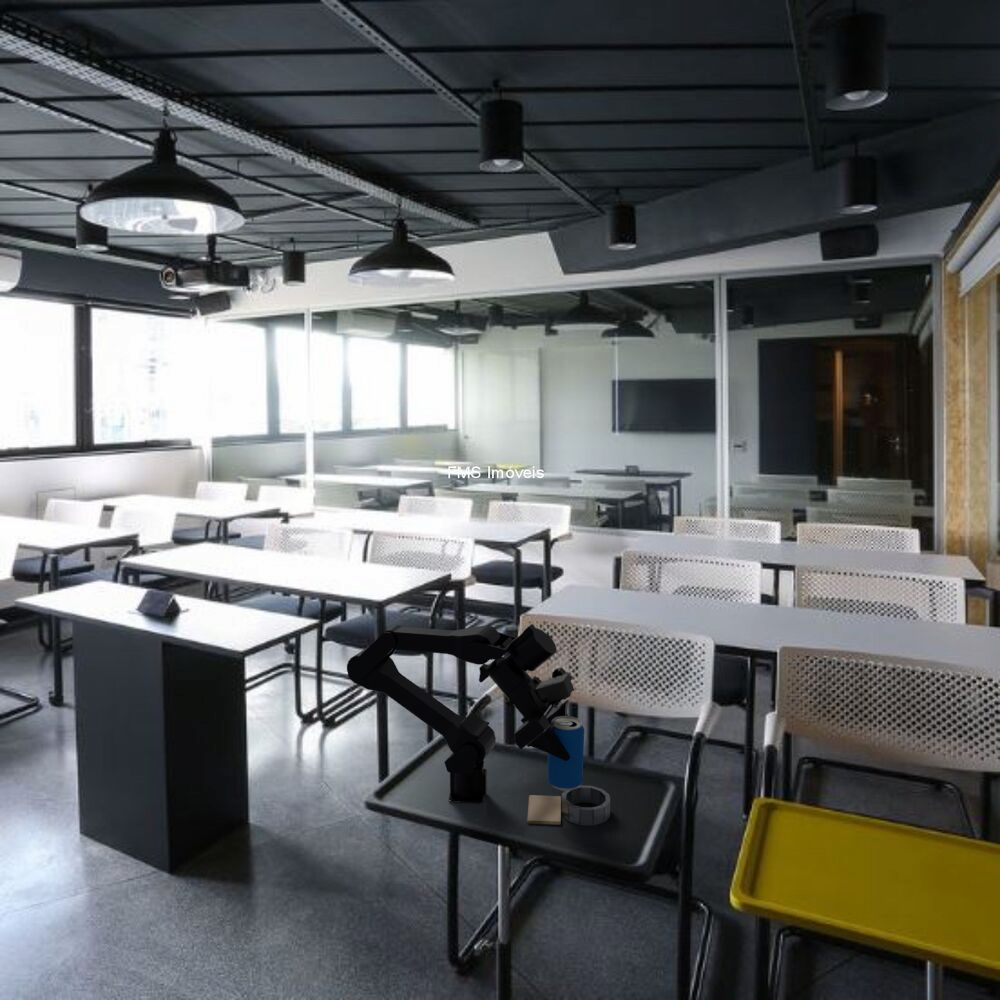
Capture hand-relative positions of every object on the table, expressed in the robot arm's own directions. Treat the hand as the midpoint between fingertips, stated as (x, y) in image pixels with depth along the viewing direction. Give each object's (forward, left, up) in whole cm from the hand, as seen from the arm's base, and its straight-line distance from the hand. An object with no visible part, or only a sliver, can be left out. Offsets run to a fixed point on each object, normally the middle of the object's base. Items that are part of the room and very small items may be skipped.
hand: (573, 751), depth 150 cm
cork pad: (-5, 0, -12) cm, 13 cm away
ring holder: (+2, 0, -12) cm, 12 cm away
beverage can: (-2, 0, -7) cm, 7 cm away
